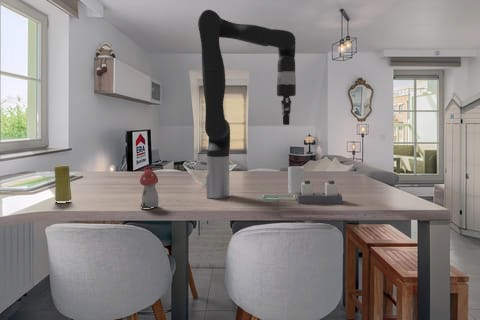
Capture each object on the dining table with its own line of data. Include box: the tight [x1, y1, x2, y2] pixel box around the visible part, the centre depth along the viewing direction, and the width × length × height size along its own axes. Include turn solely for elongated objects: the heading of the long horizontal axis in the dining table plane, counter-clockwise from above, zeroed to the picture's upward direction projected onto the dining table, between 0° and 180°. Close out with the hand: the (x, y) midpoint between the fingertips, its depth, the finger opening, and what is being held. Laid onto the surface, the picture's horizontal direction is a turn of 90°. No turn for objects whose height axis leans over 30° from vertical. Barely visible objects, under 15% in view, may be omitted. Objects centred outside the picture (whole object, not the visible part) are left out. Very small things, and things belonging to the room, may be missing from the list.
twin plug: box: [324, 180, 339, 196], centre depth 148 cm, size 4×4×8 cm
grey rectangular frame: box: [296, 192, 343, 205], centre depth 149 cm, size 16×7×4 cm, turn 86°
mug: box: [287, 165, 305, 195], centre depth 171 cm, size 10×7×12 cm, turn 167°
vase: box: [54, 165, 73, 201], centre depth 156 cm, size 6×6×14 cm
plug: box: [301, 179, 314, 196], centre depth 149 cm, size 4×4×8 cm
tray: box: [261, 194, 297, 203], centre depth 157 cm, size 13×9×2 cm
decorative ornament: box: [139, 166, 160, 208], centre depth 145 cm, size 9×6×15 cm
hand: (286, 124), depth 159 cm, fingers open, 8 cm apart
